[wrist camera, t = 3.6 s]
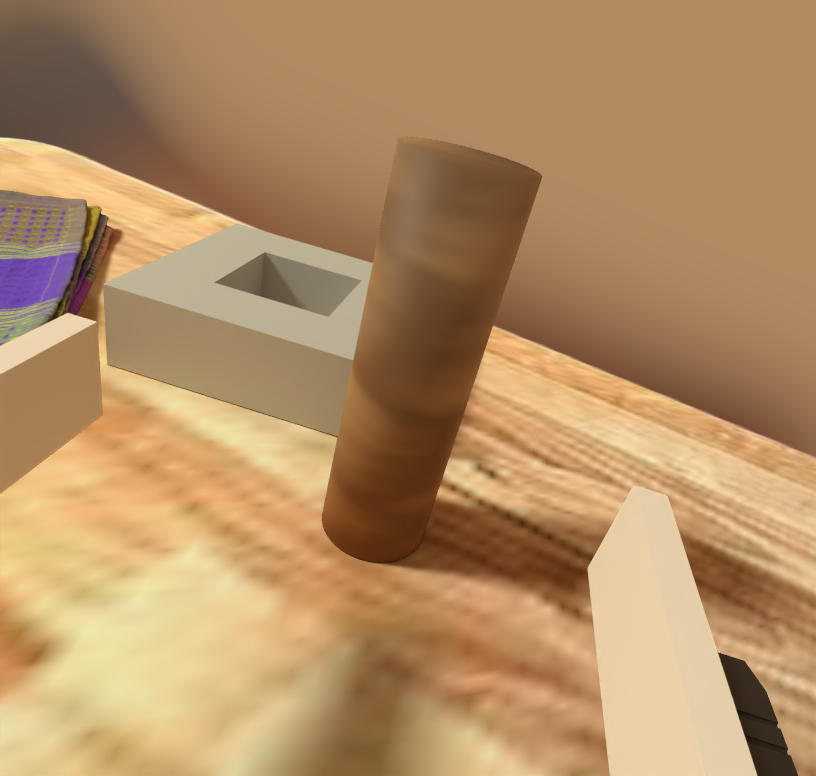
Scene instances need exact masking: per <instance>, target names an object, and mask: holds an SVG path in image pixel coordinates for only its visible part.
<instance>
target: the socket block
mask: <svg viewBox="0 0 816 776" xmlns="http://www.w3.org/2000/svg"><path fill="white" fill-rule="evenodd" d="M372 265H373V263H370V262H367V261H363V260H360V259H357V258H353V257H350V256H346V255H343V254H339V253H336V252H333V251H329V250H326V249H322V248H319V247H316V246H312V245H309V244H305V243H302V242H298V241H295V240H292V239H288V238H284V237H281V236H278V235H274V234H271V233H268V232H264V231H261V230H257V229H254V228H250V227H247V226H244V225H240V224H235V225H233V226H231V227H229V228H226V229H224V230H222V231H220V232H218V233H215V234H213V235H211V236H209V237H206V238H204V239H202V240H200V241H198V242H195V243H193V244H191V245H189V246H187V247H184V248H182V249H180V250H178V251H175V252H173V253H171V254H169V255H167V256H164V257H162V258H160V259H158V260H156V261H153V262H151V263H149V264H147V265H144V266H142V267H140V268H138V269H136V270H133V271H131V272H129V273H127V274H125V275H122V276H120V277H118V278H116V279H113V280H111V281H109V282H107V283H105V284H103V289H104V309H105V329H106V350H107V364H108V365H112V366H115V367H118V368H121V369H124V370H128V371H131V372H134V373H137V374H140V375H143V376H147V377H150V378H153V379H156V380H159V381H163V382H166V383H169V384H172V385H175V386H178V387H182V388H185V389H188V390H191V391H194V392H197V393H201V394H204V395H207V396H210V397H213V398H217V399H220V400H223V401H226V402H229V403H232V404H236V405H239V406H242V407H245V408H248V409H251V410H255V411H258V412H261V413H264V414H267V415H271V416H274V417H277V418H280V419H283V420H286V421H290V422H293V423H296V424H299V425H302V426H306V427H309V428H312V429H315V430H318V431H321V432H325V433H328V434H331V435H334V436H337V437H338V434H339V429H340V424H341V419H342V414H343V409H344V404H345V399H346V394H347V389H348V384H349V379H350V374H351V369H352V364H353V359H354V354H355V349H356V344H357V339H358V334H359V329H360V324H361V319H362V314H363V309H364V304H365V299H366V295H367V290H368V285H369V280H370V275H371V270H372Z"/></svg>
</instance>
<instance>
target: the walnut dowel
mask: <svg viewBox="0 0 816 776" xmlns="http://www.w3.org/2000/svg"><path fill="white" fill-rule="evenodd" d="M541 179H542V175H541V174H540V173H538V172H537V171H535V170H533V169H531V168H529V167H527V166H524V165H522V164H520V163H517V162H514V161H511V160H509V159H506V158H503V157H500V156H496V155H493V154H490V153H486V152H483V151H480V150H476V149H472V148H468V147H465V146H461V145H456V144H452V143H447V142H443V141H438V140H432V139H426V138H418V137H399V138H398V141H397V146H396V151H395V155H394V160H393V165H392V171H391V176H390V180H389V185H388V191H387V195H386V200H385V205H384V210H383V216H382V220H381V225H380V230H379V235H378V240H377V245H376V250H375V255H374V260H373V265H372V270H371V275H370V280H369V285H368V290H367V295H366V299H365V304H364V309H363V314H362V319H361V324H360V329H359V334H358V339H357V344H356V349H355V354H354V359H353V364H352V369H351V374H350V379H349V384H348V389H347V394H346V399H345V404H344V409H343V414H342V419H341V424H340V429H339V434H338V439H337V444H336V448H335V453H334V458H333V463H332V468H331V473H330V478H329V483H328V488H327V493H326V498H325V503H324V508H323V513H322V524H323V528H324V530H325V532H326V534H327V536H328V537H329V539H330V540H331V541H332V542H333V543H334V544H335V545H336V546H337V547H338V548H339V549H340V550H342V551H344V552H345V553H347V554H349V555H351V556H353V557H355V558H358V559H361V560H365V561H370V562H379V563H382V562H392V561H397V560H400V559H403V558H405V557H407V556H408V555H410V554H411V553H413V552H414V551H415V550H416V549H417V548H418V546H419V545H420V543H421V540H422V538H423V535H424V532H425V529H426V526H427V523H428V520H429V517H430V514H431V511H432V508H433V505H434V501H435V498H436V495H437V492H438V489H439V486H440V483H441V480H442V477H443V474H444V471H445V468H446V465H447V462H448V459H449V456H450V453H451V450H452V447H453V444H454V441H455V438H456V435H457V432H458V429H459V426H460V423H461V420H462V417H463V414H464V411H465V408H466V405H467V402H468V399H469V396H470V393H471V390H472V387H473V384H474V381H475V378H476V375H477V372H478V369H479V366H480V363H481V360H482V357H483V354H484V351H485V348H486V345H487V342H488V339H489V336H490V333H491V330H492V327H493V324H494V321H495V318H496V315H497V312H498V309H499V305H500V303H501V300H502V296H503V293H504V290H505V287H506V284H507V281H508V278H509V275H510V272H511V269H512V266H513V263H514V260H515V257H516V254H517V251H518V248H519V245H520V242H521V239H522V236H523V233H524V230H525V227H526V224H527V221H528V218H529V215H530V212H531V209H532V206H533V203H534V200H535V197H536V194H537V191H538V188H539V185H540V182H541Z"/></svg>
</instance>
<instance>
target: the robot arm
mask: <svg viewBox="0 0 816 776" xmlns="http://www.w3.org/2000/svg"><path fill="white" fill-rule="evenodd" d="M101 416H103V412H102V395H101V377H100V360H99V343H98V326H97V322H96V321H93V320H89V319H86V318H83V317H80V316H76V315H73V314H70V313H67V314H65V315H63V316H61V317H59V318H56V319H54V320H52V321H50V322H48V323H46V324H44V325H42V326H40V327H38V328H36V329H34V330H32V331H30V332H28V333H26V334H24V335H22V336H20V337H17V338H15V339H13V340H11V341H9V342H7V343H5V344H3V345H1V346H0V494H1V493H2V492H3V491H5V490H6V489H7V488H8V487H10V486H11V485H12V484H14V483H15V482H16V481H18V480H19V479H20V478H22V477H23V476H24V475H26V474H27V473H28V472H29V471H31V470H32V469H33V468H35V467H36V466H37V465H39V464H40V463H41V462H43V461H44V460H45V459H46V458H48V457H49V456H50V455H52V454H53V453H54V452H56V451H57V450H58V449H60V448H61V447H62V446H63V445H65V444H66V443H67V442H69V441H70V440H71V439H73V438H74V437H75V436H77V435H78V434H79V433H81V432H82V431H83V430H84V429H86V428H87V427H88V426H90V425H91V424H92V423H94V422H95V421H96V420H98V419H99V418H100V417H101ZM588 577H589V587H590V596H591V605H592V614H593V624H594V633H595V642H596V651H597V660H598V670H599V679H600V688H601V697H602V707H603V716H604V725H605V734H606V744H607V753H608V762H609V771H610V776H798V774H797V771H796V768H795V766H794V763H793V761H792V758H791V756H790V755H788V754H787V750H788V747H787V745H786V742H785V740H784V737H783V734H782V732H781V729H779V728H777V724H778V721H777V719H776V716H775V713H774V711H773V708H772V706H771V703H770V700H769V698H768V695H767V692H766V691H765V689H764V688H763V686H762V685H761V684H760V682H759V681H758V679H757V678H756V676H755V675H754V674H753V672H752V671H751V669H750V668H749V667H748V665H747V664H746V662H745V661H743V660H740V659H737V658H734V657H730V656H727V655H724V654H721V653H718V652H717V649H716V646H715V642H714V639H713V636H712V633H711V630H710V627H709V624H708V621H707V618H706V614H705V611H704V608H703V605H702V602H701V599H700V596H699V593H698V590H697V586H696V583H695V580H694V577H693V574H692V571H691V568H690V565H689V562H688V559H687V555H686V552H685V549H684V546H683V543H682V540H681V537H680V534H679V531H678V527H677V524H676V521H675V518H674V515H673V512H672V509H671V506H670V503H669V500H668V496H667V495H664V494H661V493H658V492H655V491H651V490H648V489H645V488H641V487H638V486H635V485H634V486H633V487H632V489H631V491H630V493H629V495H628V496H627V498H626V500H625V502H624V504H623V505H622V507H621V509H620V511H619V513H618V514H617V516H616V518H615V520H614V522H613V523H612V525H611V527H610V529H609V531H608V532H607V534H606V536H605V538H604V540H603V541H602V543H601V545H600V547H599V549H598V550H597V552H596V554H595V556H594V558H593V559H592V561H591V563H590V565H589V566H588Z"/></svg>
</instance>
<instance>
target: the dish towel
mask: <svg viewBox="0 0 816 776" xmlns="http://www.w3.org/2000/svg"><path fill="white" fill-rule="evenodd" d="M101 210H102V209H101V208H100V207H99V206H87V202H86V200H83V199H65V198H58V197H52V196H35V195H28V194H24V193H20V192H14V191H5V190H0V346H1V345H3V344H5V343H7V342H9V341H11V340H13V339H15V338H17V337H20V336H22V335H24V334H26V333H28V332H30V331H32V330H34V329H36V328H38V327H40V326H42V325H44V324H46V323H48V322H50V321H52V320H54V319H56V318H59V317H61V316H63V315H65V314H67V313H70V314H73V315H76V314H77V312H78V311H79V309H80V308H81V306H82V304H83V302H84V300H85V298H86V296H87V294H88V292H89V290H90V287H91V285H92V284H93V282H94V280H95V278H96V275H97V272H98V269H99V267H100V264H101V262H102V260H103V258H104V255H105V254H106V250H107V249H108V244H109V243H110V236H111V235H112V233H113V231H114V230H113V229H112V228H111V227H109V226H107V225H106V224H107V221H108V219H109V218H108V216H106V215H102V214H101Z"/></svg>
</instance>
